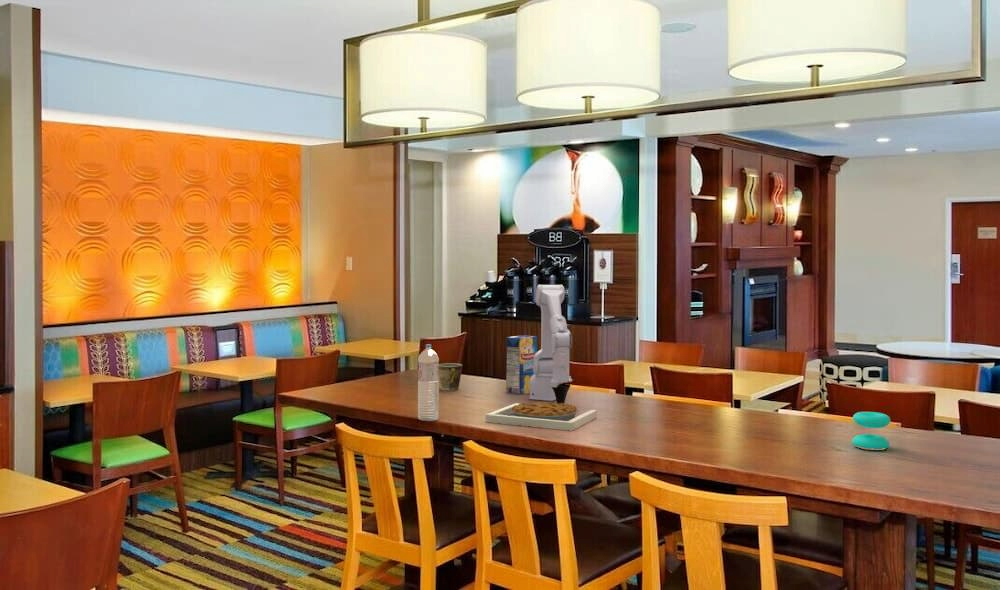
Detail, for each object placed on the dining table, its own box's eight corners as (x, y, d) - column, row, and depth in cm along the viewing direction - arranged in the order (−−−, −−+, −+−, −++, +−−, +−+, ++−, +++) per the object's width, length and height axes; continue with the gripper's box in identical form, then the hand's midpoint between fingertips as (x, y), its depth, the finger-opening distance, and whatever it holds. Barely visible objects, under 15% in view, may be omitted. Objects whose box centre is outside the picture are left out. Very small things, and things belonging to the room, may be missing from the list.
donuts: (874, 410, 266) (898, 416, 256) (873, 443, 267) (897, 450, 257) (845, 411, 263) (868, 418, 254) (844, 445, 264) (867, 452, 254)
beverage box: (506, 392, 354) (506, 337, 352) (523, 389, 362) (524, 335, 361) (519, 394, 349) (519, 338, 348) (537, 391, 357) (537, 336, 356)
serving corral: (485, 422, 294) (485, 414, 294) (515, 410, 316) (515, 403, 316) (571, 430, 281) (571, 422, 281) (596, 417, 303) (596, 410, 303)
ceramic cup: (434, 388, 363) (434, 363, 363) (458, 387, 366) (458, 362, 366) (442, 393, 351) (442, 367, 351) (467, 392, 354) (467, 367, 354)
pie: (590, 419, 300) (590, 405, 300) (546, 429, 285) (546, 413, 285) (542, 411, 316) (542, 397, 316) (498, 419, 300) (498, 404, 300)
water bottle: (435, 421, 294) (435, 346, 292) (415, 420, 295) (415, 345, 294) (440, 418, 301) (441, 343, 299) (421, 417, 302) (421, 343, 301)
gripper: (564, 369, 305) (563, 409, 306) (579, 364, 318) (578, 402, 319) (545, 368, 308) (544, 407, 309) (560, 363, 321) (560, 400, 322)
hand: (560, 404), depth 314 cm, fingers closed
